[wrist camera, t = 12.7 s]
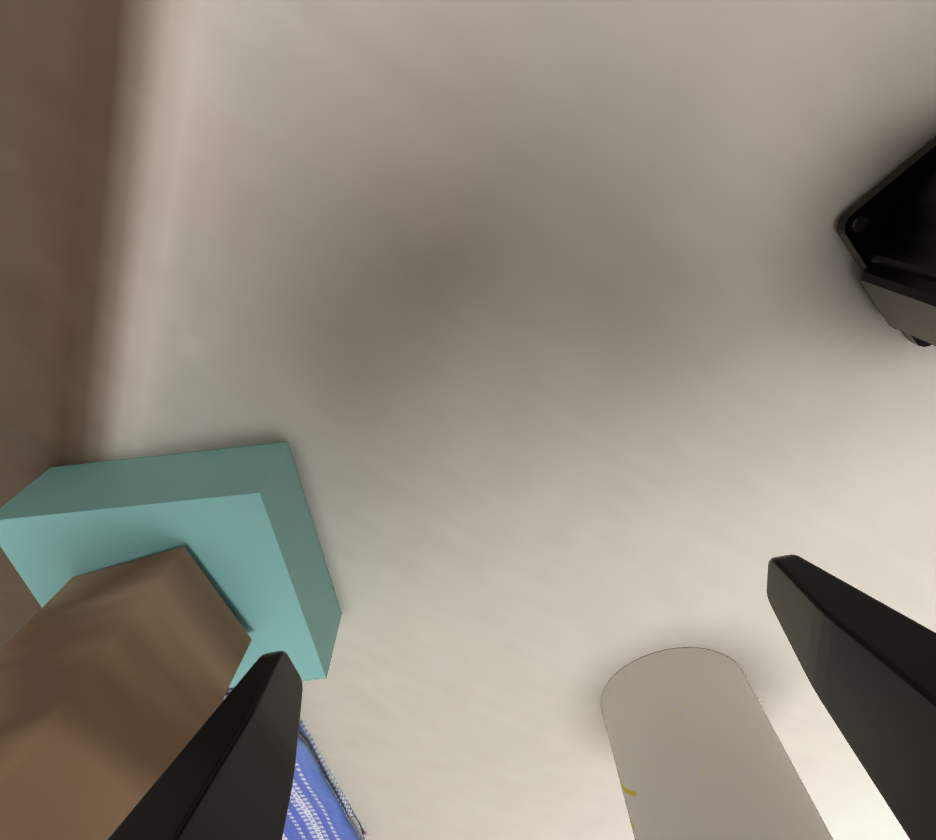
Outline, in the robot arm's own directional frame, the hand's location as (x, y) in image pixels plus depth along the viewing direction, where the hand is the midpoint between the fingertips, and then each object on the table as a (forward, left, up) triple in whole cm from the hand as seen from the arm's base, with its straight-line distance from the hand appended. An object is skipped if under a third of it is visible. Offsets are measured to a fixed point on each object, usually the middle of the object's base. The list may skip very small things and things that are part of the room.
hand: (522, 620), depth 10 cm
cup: (+7, +22, -12) cm, 26 cm away
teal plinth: (+15, -3, -13) cm, 20 cm away
